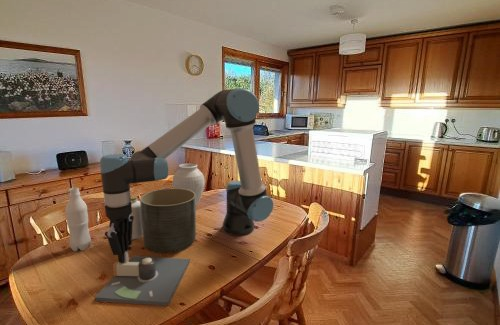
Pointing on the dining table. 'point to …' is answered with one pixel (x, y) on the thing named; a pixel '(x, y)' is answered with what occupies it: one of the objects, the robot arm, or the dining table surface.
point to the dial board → (146, 284)
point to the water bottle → (77, 221)
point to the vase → (189, 179)
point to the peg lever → (136, 269)
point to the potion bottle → (136, 218)
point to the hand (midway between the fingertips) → (124, 268)
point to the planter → (168, 219)
